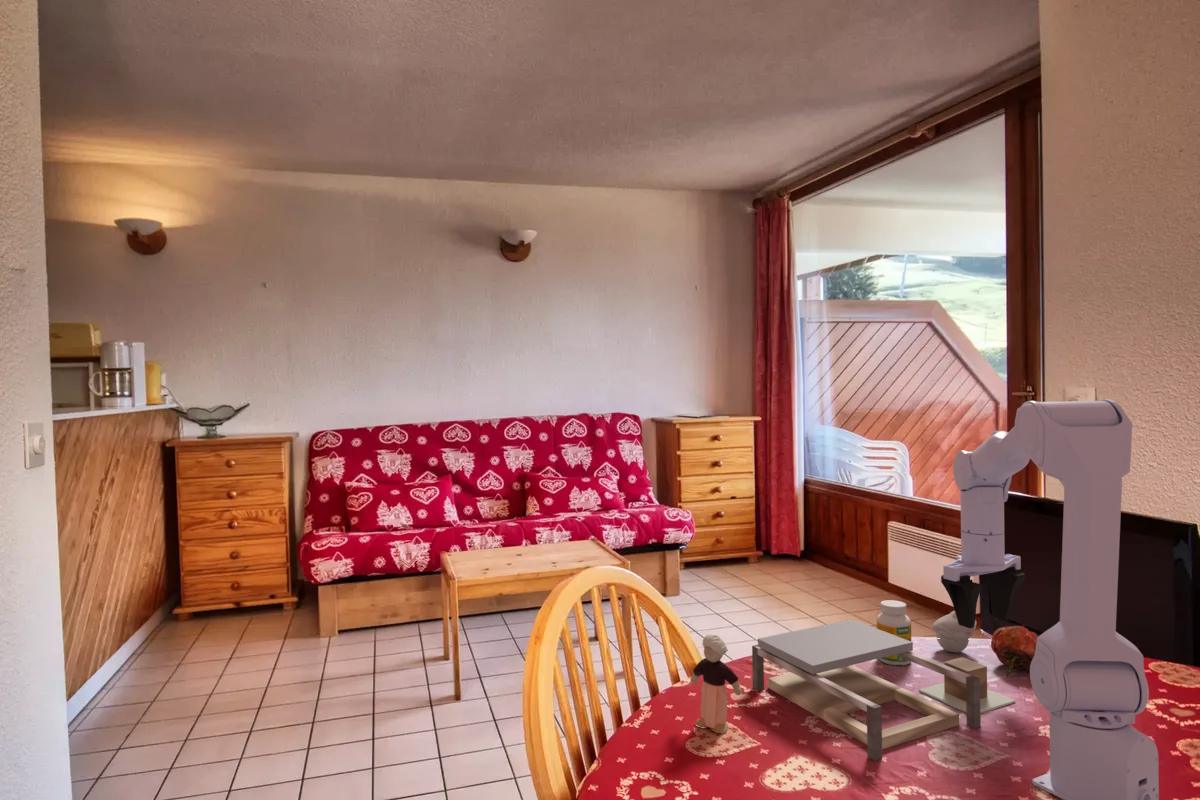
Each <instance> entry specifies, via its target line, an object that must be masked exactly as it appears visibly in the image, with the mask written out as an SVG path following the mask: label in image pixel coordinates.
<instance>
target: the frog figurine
mask: <svg viewBox="0 0 1200 800" xmlns="http://www.w3.org/2000/svg"><path fill="white" fill-rule="evenodd" d="M976 628H977V620H976V619H975V625H974V628H967V627H964V626H961V625H959V624H958V620H957V616H956V613H955V610H953V611H951V612H949V614H946V615H943V616H942V617H939V618H938V619H936V620H935V621H934V622H933V624H932V629H933V630H934V633H935V634H936V641H937V643H938V644H939V645H940V647H941V648H942V649H943V650H944V651H947V652H949V653H953V652H954V653H955V654H957V653H960V652H962V651H965V650H966V648H967V647H968V646H969V641H970V637H973V634H974V632H975V631H976ZM937 638H940V639H937ZM968 639H969V640H968Z"/></svg>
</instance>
